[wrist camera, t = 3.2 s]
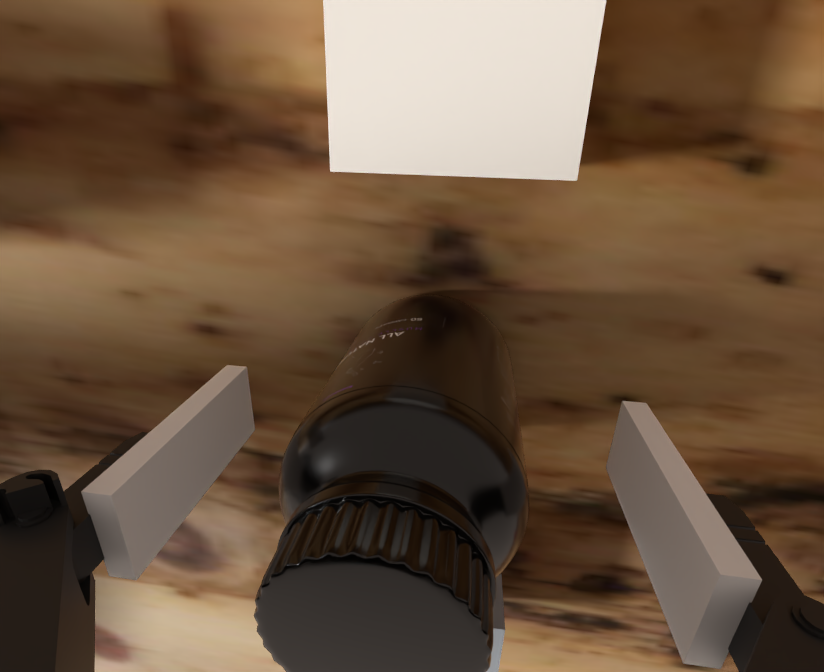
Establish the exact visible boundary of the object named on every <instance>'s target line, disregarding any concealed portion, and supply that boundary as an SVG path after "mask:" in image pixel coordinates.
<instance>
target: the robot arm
mask: <svg viewBox="0 0 824 672" xmlns="http://www.w3.org/2000/svg"><path fill="white" fill-rule="evenodd" d="M254 431H255V425H254V418H253V410H252V402H251V395H250V387H249V379H248V371H247V367H244V366H233V365H226V366H225V367H224V368H223V369H222V370H221V371H220V372H218V373H217V374H216V375H215V376H214V377H213V378H211V379H210V380H209V381H208V382H207V383H206V384H205V385H203V386H202V387H201V388H200V389H199V390H198V391H196V392H195V393H194V394H193V395H192V396H191V397H190V398H188V399H187V400H186V401H185V402H184V403H183V404H181V405H180V406H179V407H178V408H177V409H176V410H175V411H173V412H172V413H171V414H170V415H169V416H168V417H166V418H165V419H164V420H163V421H162V422H161V423H160V424H158V425H157V426H156V427H155V428H154V429H153V430H151V431H150V432H149V433H145V432H142V433H140V434H138V435H136V436H134V437H132V438H130V439H128V440H126V441H124V442H123V443H122V444H120V445H119V446H118V447H117V448H116V449H114V450H113V451H112V452H111V453H110V455H107V456H106V457H105V458H104V459H102V460H101V461H100V462H99V464H98V465H95V466H94V467H93V468H92V469H90V470H89V471H88V472H87V473H86V474H84V475H83V476H82V477H81V478H80V479H78V480H77V481H76V482H75V483H74V484H72V485H71V486H70V487H69V488H68V489H66V490H65V491H63V488H62V486H61V483H60V480H59V477H58V474H57V473H55V472H53V471H51V470H37V471H31V472H26V473H24V474H21V475H18V476H15V477H13V478H11V479H9V480H7V481H5V482H3V483H1V484H0V672H94V660H95V580H94V577H93V574H92V571H93V570H94V569H95V568H96V567H97V566H98V565H99V564H100V563H101V561H102V560H103V559H104V562H105V565H106V568H107V571H108V574H109V576H112V577H119V578H125V579H132V580H137V579H138V578H139V577H140V575H141V574H142V573H143V571H144V570H145V569H146V568H147V566H148V565H149V564H150V563H151V561H152V560H153V559H154V558H155V556H156V555H157V554H158V552H159V551H160V550H161V549H162V547H163V546H164V545H165V544H166V542H167V541H168V540H169V539H170V537H171V536H172V535H173V533H174V532H175V531H176V530H177V528H178V527H179V526H180V525H181V523H182V522H183V521H184V519H185V518H186V517H187V516H188V514H189V513H190V512H191V511H192V509H193V508H194V507H195V506H196V504H197V503H198V502H199V500H200V499H201V498H202V497H203V495H204V494H205V493H206V492H207V490H208V489H209V488H210V487H211V485H212V484H213V483H214V481H215V480H216V479H217V478H218V476H219V475H220V474H221V473H222V471H223V470H224V469H225V468H226V466H227V465H228V464H229V462H230V461H231V460H232V459H233V457H234V456H235V455H236V454H237V452H238V451H239V450H240V449H241V447H242V446H243V445H244V443H245V442H246V441H247V440H248V438H249V437H250V436H251V435H252V433H253V432H254ZM606 469H607V472H608V475H609V477H610V480H611V482H612V485H613V487H614V490H615V492H616V495H617V497H618V500H619V502H620V505H621V507H622V510H623V512H624V515H625V517H626V520H627V522H628V525H629V527H630V530H631V532H632V535H633V538H634V540H635V543H636V545H637V548H638V550H639V553H640V555H641V558H642V560H643V563H644V565H645V568H646V570H647V573H648V575H649V578H650V580H651V583H652V585H653V588H654V590H655V593H656V596H657V598H658V601H659V603H660V606H661V608H662V611H663V613H664V616H665V618H666V621H667V623H668V626H669V628H670V631H671V633H672V636H673V638H674V641H675V643H676V646H677V648H678V651H679V654H680V656H681V659H682V661H683V663H684V664H691V665H697V666H704V667H710V668H717V669H721V667H722V665H723V663H724V660H725V658H726V656H727V654H728V652H730V654H731V656H732V658H733V660H734V662H735V664H736V666H737V668H738V670H739V672H824V604H822V603H821V602H818V601H816V600H814V599H812V598H809V597H807V596H804V594H803V593H802V591H801V590H800V589H799V587H798V586H797V585H796V583H795V582H794V580H793V579H792V578H791V576H790V575H789V574H788V572H787V571H786V569H785V568H784V567H783V565H782V564H781V563H780V561H779V560H778V558H777V557H776V556H775V554H774V553H773V552H772V550H771V549H770V547H769V546H768V545H766V544H765V540H764V539H763V538H762V536H761V535H760V534H759V532H758V531H755V527H754V525H753V524H752V523H751V521H750V520H749V518H748V517H747V516H746V514H745V513H744V512H743V511H742V510H741V509H740V508H739V507H738V506H736V505H735V504H734V503H733V502H731V501H730V500H729V499H728V498H727V497H725V496H723V495H714V494H706V493H705V492H704V490H703V489H702V487H701V486H700V484H699V483H698V481H697V480H696V478H695V476H694V475H693V473H692V472H691V470H690V469H689V467H688V466H687V464H686V463H685V461H684V460H683V458H682V457H681V455H680V454H679V452H678V451H677V449H676V447H675V446H674V444H673V443H672V441H671V440H670V438H669V437H668V435H667V434H666V432H665V431H664V429H663V428H662V426H661V425H660V423H659V422H658V420H657V418H656V417H655V415H654V414H653V412H652V411H651V409H650V408H649V406H648V405H647V403H642V402H630V401H622V403H621V407H620V411H619V415H618V420H617V424H616V428H615V432H614V436H613V440H612V444H611V448H610V452H609V456H608V461H607V465H606Z"/></svg>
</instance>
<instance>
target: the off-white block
mask: <svg viewBox="0 0 824 672" xmlns="http://www.w3.org/2000/svg"><path fill="white" fill-rule="evenodd" d="M323 4H324V29H325V54H326V79H327V103H328V128H329V153H330V171H331V172H358V173H384V174H411V175H437V176H464V177H491V178H517V179H544V180H570V181H577V177H578V171H579V165H580V159H581V153H582V147H583V140H584V134H585V128H586V122H587V116H588V110H589V104H590V97H591V91H592V85H593V79H594V73H595V67H596V61H597V54H598V48H599V42H600V36H601V30H602V24H603V17H604V11H605V5H606V0H323Z"/></svg>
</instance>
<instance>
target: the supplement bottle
mask: <svg viewBox="0 0 824 672" xmlns="http://www.w3.org/2000/svg"><path fill="white" fill-rule="evenodd" d="M279 498H280V505H281V510H282V514H283V517H284V521H285V524H286V527H285V529H284V531H283V532H282V535H281V537H280V540H279V543H278V547H277V551H276V553H275V555H274V557H273V559H272V561H271V563H270V565H269V567H268V569H267V571H266V573H265V575H264V577H263V580H262V584H261V586H260V588H259V590H258V592H257V595H256V599H255V603H256V606H257V607H256V610H255V613H254V617H255V619H256V621H257V623H258V626H257V632H258V634H259V635H260V636H261V638H262V639H263V645H264V647H265V648H266V649H267V650H268V651H269V652H270V653H271V654H272V657H273V659H274V661H275V662H277V663H278V664H279V665H281V666H282V667H283V668H284V670H285V671H286V672H486V671H487V670H488V669H489V668H490V664H491V652H492V648H493V607H494V604H495V599H496V577H498V576H499V575H500V574H501V573H502V571H503V570H504V569H505V568H506V567H507V566H508V564H509V563H510V562H511V560H512V559H513V557H514V556H515V554H516V552H517V550H518V548H519V546H520V545H521V542H522V540H523V537H524V534H525V532H526V527H527V523H528V516H529V493H528V481H527V474H526V466H525V459H524V451H523V444H522V436H521V429H520V422H519V414H518V407H517V399H516V392H515V384H514V377H513V371H512V365H511V359H510V355H509V352H508V349H507V346H506V344H505V341H504V339H503V337H502V336H501V334H500V332H499V331H498V330H497V328H496V327H495V326H494V325H493V323H492V322H491V321H490V320H489V319H488V318H487V317H486V316H484V315H483V314H482V313H481V312H479V311H478V310H476V309H475V308H473V307H472V306H470V305H468V304H466V303H464V302H461V301H459V300H456V299H453V298H450V297H445V296H438V295H417V296H412V297H407V298H403V299H400V300H398V301H395V302H393V303H391V304H389V305H387V306H385V307H384V308H382V309H381V310H379V311H378V312H377V313H376V314H375V315H373V317H372V318H371V319H370V320H369V321H368V322H367V323H366V324H365V325H364V327H363V328H362V329H361V331H360V332H359V334H358V335H357V337H356V338H355V340H354V341H353V343H352V344H351V346H350V347H349V349H348V351H347V352H346V354H345V355H344V357H343V358H342V360H341V361H340V363H339V365H338V366H337V368H336V369H335V371H334V372H333V374H332V375H331V377H330V379H329V380H328V382H327V383H326V385H325V386H324V388H323V389H322V391H321V393H320V394H319V396H318V397H317V399H316V400H315V402H314V403H313V405H312V407H311V408H310V410H309V411H308V413H307V414H306V416H305V417H304V419H303V421H302V422H301V424H300V425H299V427H298V429H297V430H296V432H295V433H294V435H293V437H292V439H291V441H290V443H289V445H288V447H287V449H286V451H285V453H284V457H283V460H282V463H281V468H280V474H279Z"/></svg>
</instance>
